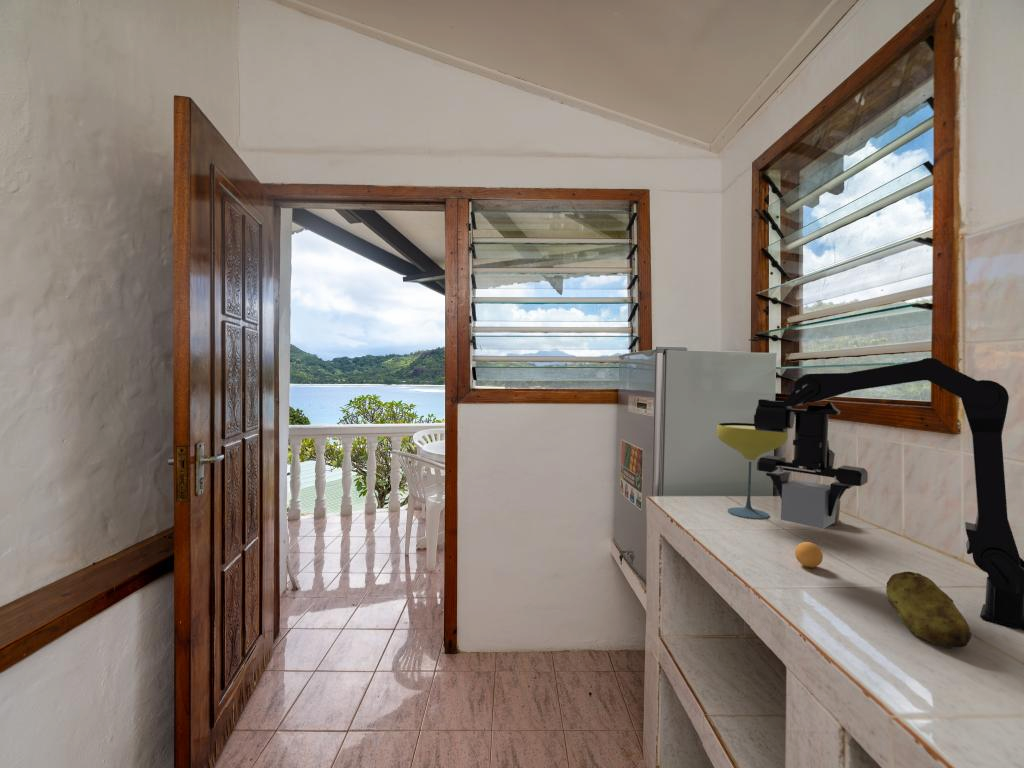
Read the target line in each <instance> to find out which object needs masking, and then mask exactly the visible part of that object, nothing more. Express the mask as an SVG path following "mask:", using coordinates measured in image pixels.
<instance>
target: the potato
mask: <svg viewBox="0 0 1024 768" xmlns="http://www.w3.org/2000/svg"><path fill="white" fill-rule="evenodd" d="M885 590H886V595H887V600H888V602H889V604H890V606H891V607H892V608H893V609H894V610H895V612H897V613H898V615H899V617H900V620H901V622H902V623H903V625H904V626H905V628H907V629H908V631H910V632H911V633H913V634H915V635H916V636H917V637H919V638H921V639H923V640H925V641H927V642H929V643H932V644H935V645H938V646H942V647H943V648H947V649H960V648H964V647H966V646H967V645H968V644H969V642H970V640H971V639H972V632H971V629H970V626H969V623H968V622H967V620H966V619H965V618H964V616H963V614H962V613H961V612H960V610H959V608H958V607H957V605H955V603H954V600H953V599H952V598H950V596H949V595H948V594H947V593H946V592H944V590H942V589H941V588H940V587H939V586H938V585H937V584H936V583H935V582H934V581H933V580H932V579H930V578H929V577H928V576H926V575H923V574H921V573H917V572H913V571H902V572H897V573H893V574H892V575H891V576H890V577H889V579H888V580H887V582H886V589H885Z"/></svg>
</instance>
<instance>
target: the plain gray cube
mask: <svg viewBox="0 0 1024 768" xmlns="http://www.w3.org/2000/svg"><path fill="white" fill-rule="evenodd" d="M830 486H831V484H824V483H818V482H813V481H812V482H811V481H806V480H799V479H794V480H790V481H788V482H787V483H784V484H782V500H781V501H780V502H781V503H780V509H781V510H780V520H781V521H787V522H791V523H795V524H800V525H804V526H809V527H813V528H817V529H823V530H824V529H825V528H827V527H829V526H830V525H834V524H833V523H834V522H835V511H836V509H835V511H834V513H833V515H832V516H831V517H830V516H829V514H828V506H829V496H830Z"/></svg>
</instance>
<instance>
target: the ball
mask: <svg viewBox="0 0 1024 768" xmlns="http://www.w3.org/2000/svg"><path fill="white" fill-rule="evenodd" d="M794 556H795V558H796V561H797V562H798V563H799V564H800V565H802V566H804V567H806V568H816V567H818V566H820V565H821V564H822V563H823V558H824V555H823V551H822V550H821V548H820V547H819V545H817V544H815V543H813V542H809V541H803V542H800V543H799V544H798V545H796V547H795V550H794Z"/></svg>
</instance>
